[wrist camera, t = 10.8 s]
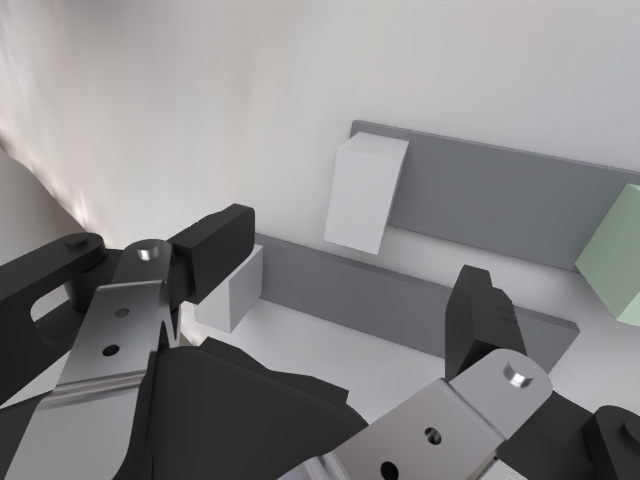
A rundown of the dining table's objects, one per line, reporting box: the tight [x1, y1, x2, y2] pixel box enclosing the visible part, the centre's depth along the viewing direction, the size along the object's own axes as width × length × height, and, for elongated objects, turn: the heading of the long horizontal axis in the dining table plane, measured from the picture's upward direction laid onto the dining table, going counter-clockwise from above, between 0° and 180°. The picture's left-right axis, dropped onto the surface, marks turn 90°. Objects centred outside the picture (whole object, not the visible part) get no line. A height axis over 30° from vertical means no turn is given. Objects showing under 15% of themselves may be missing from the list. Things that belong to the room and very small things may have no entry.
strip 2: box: [194, 233, 580, 375], centre depth 23 cm, size 26×6×6 cm, turn 82°
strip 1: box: [324, 120, 640, 273], centre depth 16 cm, size 26×6×6 cm, turn 82°
